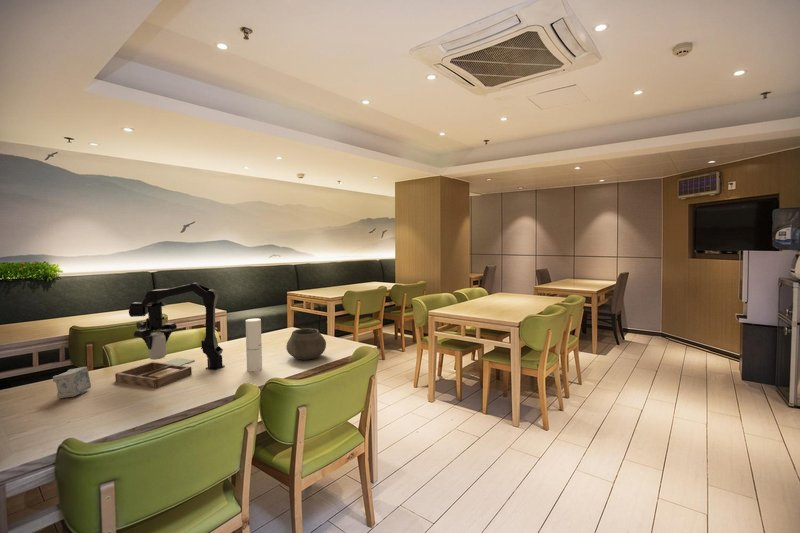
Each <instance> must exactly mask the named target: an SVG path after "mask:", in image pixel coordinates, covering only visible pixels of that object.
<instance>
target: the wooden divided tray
mask: <svg viewBox="0 0 800 533" xmlns="http://www.w3.org/2000/svg"><path fill="white" fill-rule="evenodd" d="M168 368H173V369H180V370H179V371H176V372H173V373H171V374H168V375H165V376H162V377H160V378H157V379H155V378H149V375H151V374H154V373H157V372H160V371H162V370H165V369H168ZM114 374H115V382H116V383H123V384H127V385H135V386H140V387H144V388H145V387H147V388H151V389H158V388H161V387H164V386H166V385H169V384H170V383H174V382H177V381H178V380H181V379H184V378H186V377H189V376H191V375H192V366H187V365H174V364H167V363H164V362H159V361H150V362H148V363H143V364H141V365H137V366H134V367H132V368H129V369H125V370H121V371H119V372H116V373H114Z"/></svg>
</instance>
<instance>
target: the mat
mask: <svg viewBox="0 0 800 533" xmlns="http://www.w3.org/2000/svg"><path fill="white" fill-rule="evenodd" d="M193 362H195V359H190V358H189V359H188V358H181V357H177V358H174V359H173V358H172V359H169V360H167V361H164V362H163V363H167V364H174V365H182V366H185V365H188V364H191V363H193Z"/></svg>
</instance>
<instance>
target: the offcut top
mask: <svg viewBox="0 0 800 533" xmlns="http://www.w3.org/2000/svg"><path fill="white" fill-rule="evenodd" d="M179 370H180V369H173V368H168V369H165V370H162V371H160V372H157V373H154V374H151V375H149V378H155V379H157V378H160V377H162V376H165V375H168V374H171V373H173V372H176V371H179Z"/></svg>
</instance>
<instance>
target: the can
mask: <svg viewBox="0 0 800 533" xmlns="http://www.w3.org/2000/svg"><path fill="white" fill-rule="evenodd" d="M150 336H153V338H152V347H151V349H148V348H147V350H148V351H147V352H148V353H147V354H148V355H147V356H148V358H149V360H155V361H156V360H161V359H163V358H165V357H166V356H167V343H166V337H165V335H164V333H161V332H153V333H151V334H150Z"/></svg>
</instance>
